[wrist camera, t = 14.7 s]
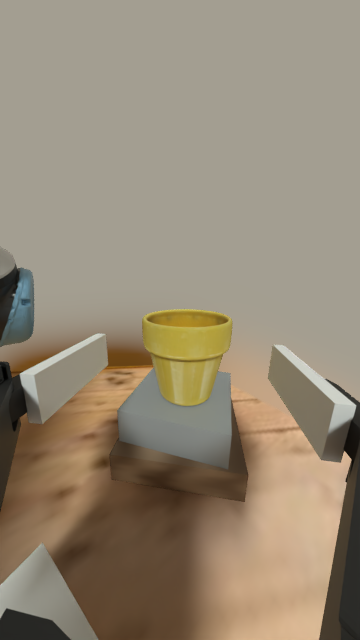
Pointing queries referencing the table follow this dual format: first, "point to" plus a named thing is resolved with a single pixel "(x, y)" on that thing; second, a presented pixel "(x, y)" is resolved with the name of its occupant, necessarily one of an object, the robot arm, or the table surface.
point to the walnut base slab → (182, 469)
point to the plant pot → (186, 351)
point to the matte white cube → (44, 595)
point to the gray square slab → (179, 422)
